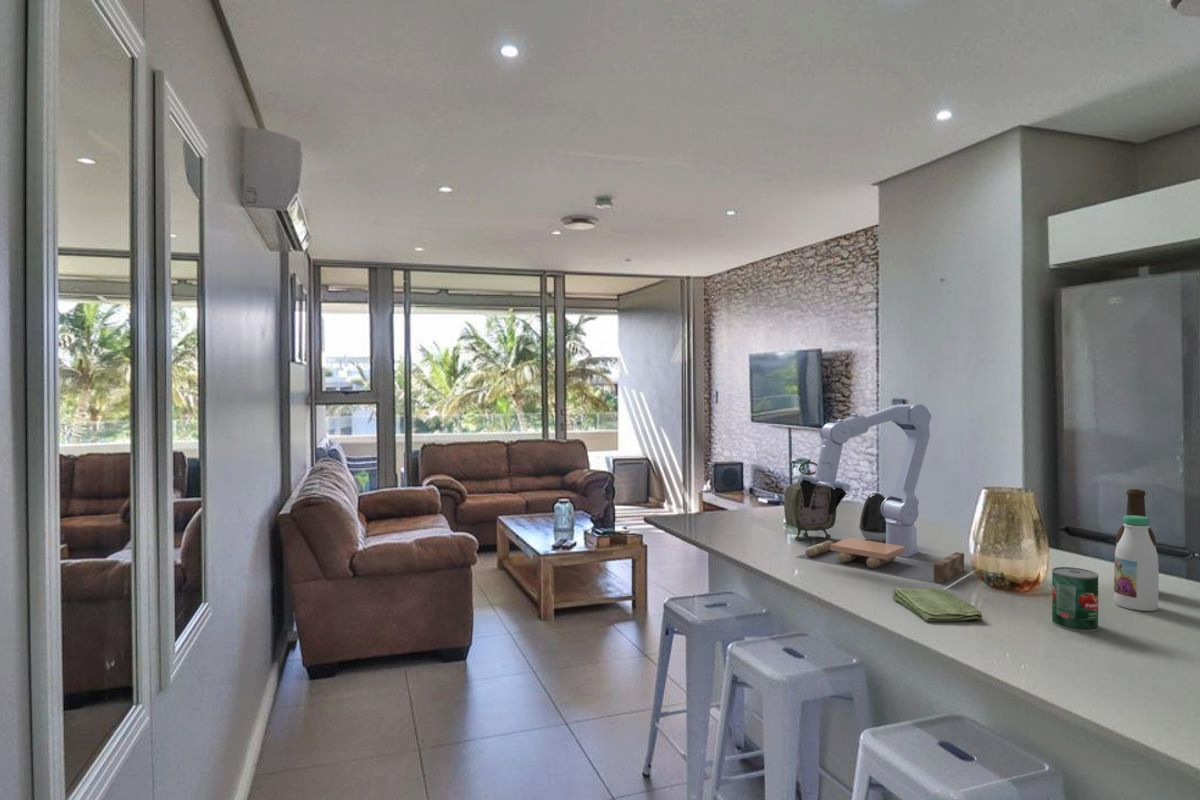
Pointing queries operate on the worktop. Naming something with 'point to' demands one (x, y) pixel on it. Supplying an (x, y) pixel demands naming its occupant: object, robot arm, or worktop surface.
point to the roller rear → (847, 557)
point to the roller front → (877, 562)
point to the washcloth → (936, 605)
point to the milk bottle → (1136, 567)
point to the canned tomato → (1075, 599)
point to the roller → (818, 548)
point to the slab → (868, 548)
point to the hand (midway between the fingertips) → (818, 510)
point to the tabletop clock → (811, 516)
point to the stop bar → (948, 567)
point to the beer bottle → (1135, 511)
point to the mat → (884, 566)
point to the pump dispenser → (873, 519)
